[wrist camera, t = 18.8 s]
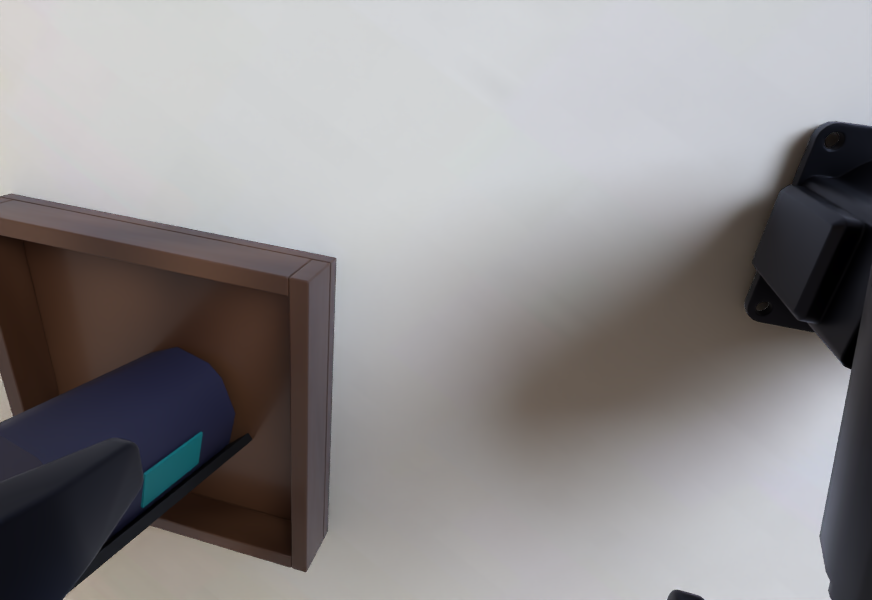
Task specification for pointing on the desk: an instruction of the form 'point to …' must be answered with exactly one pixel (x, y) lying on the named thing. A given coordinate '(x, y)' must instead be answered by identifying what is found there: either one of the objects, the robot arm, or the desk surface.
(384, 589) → the desk surface
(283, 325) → the tray
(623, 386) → the desk surface
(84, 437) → the speaker
